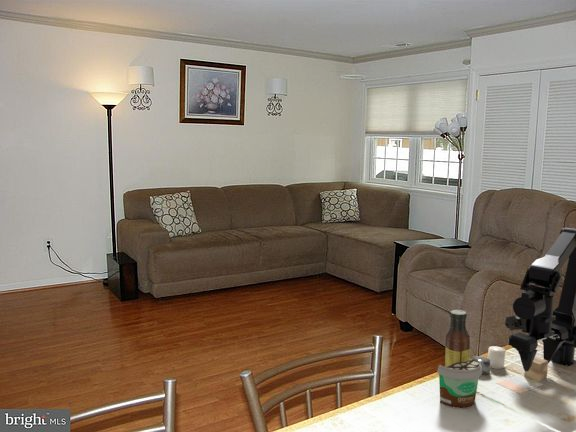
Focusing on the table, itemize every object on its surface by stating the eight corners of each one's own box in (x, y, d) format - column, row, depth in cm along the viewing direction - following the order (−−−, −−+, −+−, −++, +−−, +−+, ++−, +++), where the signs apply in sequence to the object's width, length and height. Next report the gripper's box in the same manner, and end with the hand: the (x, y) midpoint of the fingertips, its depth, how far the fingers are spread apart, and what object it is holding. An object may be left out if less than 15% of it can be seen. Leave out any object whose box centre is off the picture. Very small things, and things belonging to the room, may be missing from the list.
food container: (454, 415, 123) (456, 375, 122) (435, 403, 129) (437, 365, 127) (491, 403, 129) (494, 365, 128) (472, 393, 134) (474, 355, 133)
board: (528, 372, 147) (528, 370, 146) (552, 382, 141) (553, 379, 141) (496, 385, 139) (496, 382, 139) (520, 396, 133) (520, 393, 133)
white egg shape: (493, 363, 153) (495, 345, 152) (507, 368, 149) (508, 350, 148) (484, 366, 150) (485, 348, 150) (497, 372, 147) (498, 353, 146)
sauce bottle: (466, 379, 142) (470, 308, 139) (471, 390, 136) (476, 316, 133) (441, 378, 143) (445, 307, 140) (445, 388, 136) (449, 315, 134)
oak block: (532, 373, 145) (534, 355, 144) (546, 378, 142) (548, 360, 141) (524, 376, 143) (525, 358, 142) (537, 382, 140) (539, 364, 139)
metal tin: (477, 368, 149) (478, 354, 149) (493, 374, 145) (494, 361, 145) (466, 372, 147) (467, 358, 146) (481, 379, 143) (482, 365, 142)
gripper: (533, 298, 151) (529, 349, 154) (492, 308, 141) (488, 363, 144) (571, 308, 142) (566, 363, 144) (530, 320, 132) (526, 379, 134)
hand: (536, 366), depth 142 cm, fingers open, 9 cm apart
